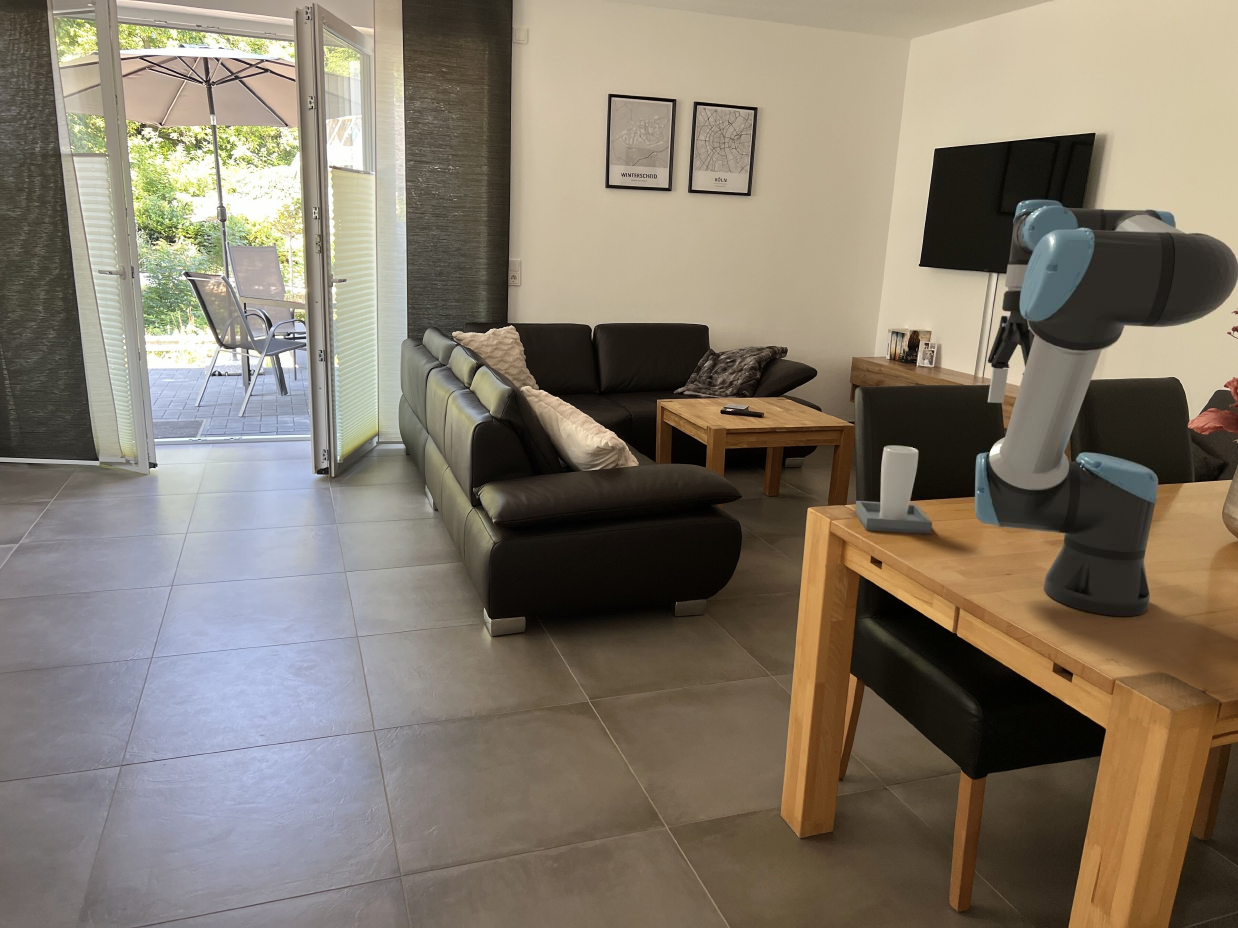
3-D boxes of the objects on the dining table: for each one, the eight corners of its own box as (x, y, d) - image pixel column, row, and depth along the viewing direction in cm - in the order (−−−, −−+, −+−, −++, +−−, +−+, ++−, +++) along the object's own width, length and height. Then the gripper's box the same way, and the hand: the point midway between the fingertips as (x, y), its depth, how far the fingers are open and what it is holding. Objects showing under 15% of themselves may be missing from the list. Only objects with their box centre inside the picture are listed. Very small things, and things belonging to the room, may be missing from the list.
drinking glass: (914, 526, 176) (923, 453, 172) (880, 525, 176) (889, 452, 172) (903, 516, 182) (912, 446, 179) (871, 515, 182) (879, 444, 179)
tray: (930, 534, 174) (932, 522, 173) (865, 530, 175) (867, 518, 174) (915, 516, 186) (916, 504, 186) (854, 512, 187) (856, 500, 187)
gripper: (1083, 292, 146) (1063, 418, 150) (1018, 290, 170) (1002, 399, 175) (1037, 289, 146) (1019, 416, 150) (979, 288, 170) (965, 397, 175)
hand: (1010, 407), depth 162 cm, fingers open, 13 cm apart
